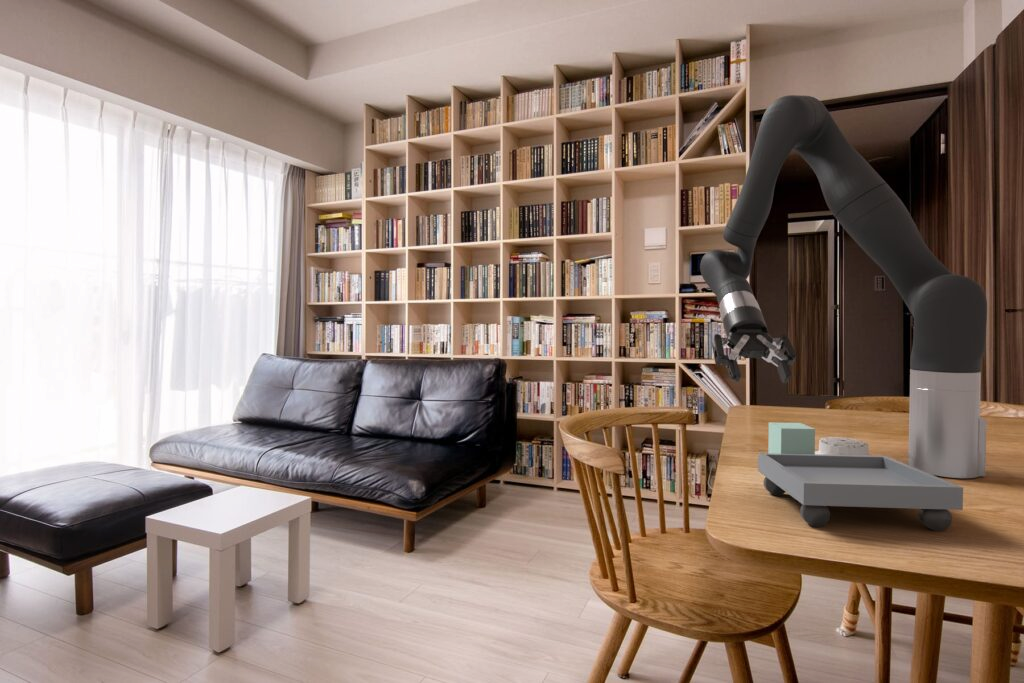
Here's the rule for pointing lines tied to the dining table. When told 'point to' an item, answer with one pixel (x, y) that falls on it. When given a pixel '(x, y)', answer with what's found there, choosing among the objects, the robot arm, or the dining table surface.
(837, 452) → the mechanical component
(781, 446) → the sage part block
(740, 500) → the dining table surface
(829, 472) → the grey shallow tray
